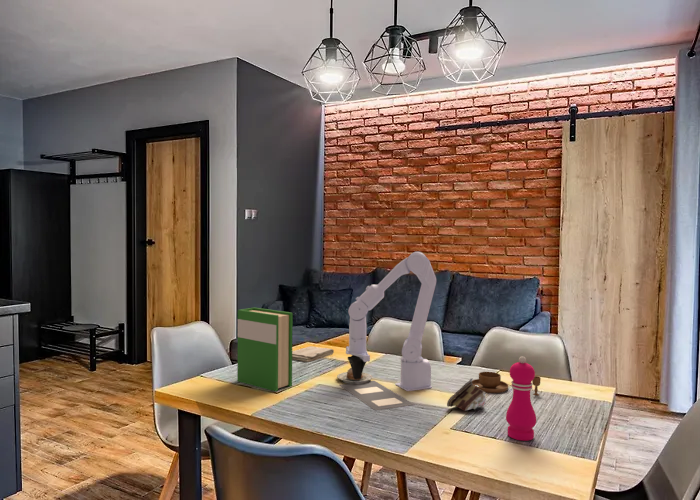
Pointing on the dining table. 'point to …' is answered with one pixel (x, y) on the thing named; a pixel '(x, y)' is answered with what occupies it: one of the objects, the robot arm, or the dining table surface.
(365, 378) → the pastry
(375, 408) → the label panel
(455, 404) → the chocolate cake
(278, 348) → the hardback book
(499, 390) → the place setting
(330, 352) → the washcloth
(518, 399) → the pepper mill
